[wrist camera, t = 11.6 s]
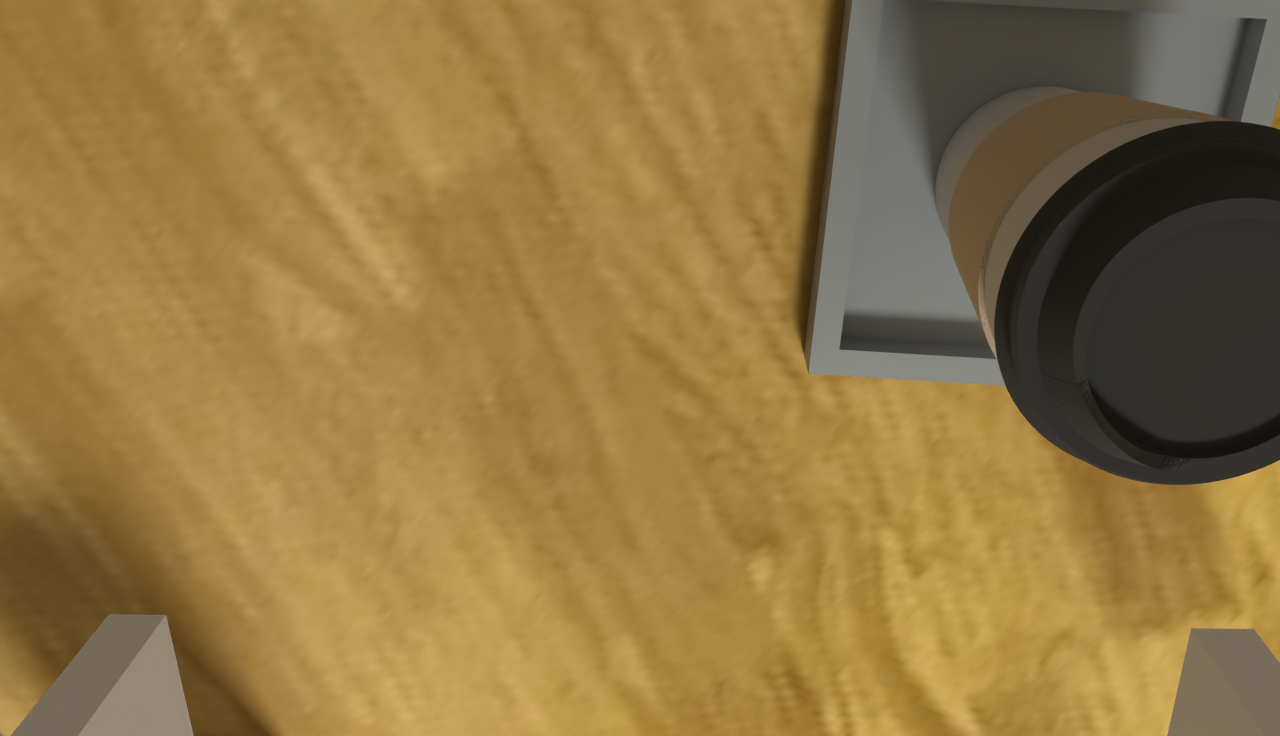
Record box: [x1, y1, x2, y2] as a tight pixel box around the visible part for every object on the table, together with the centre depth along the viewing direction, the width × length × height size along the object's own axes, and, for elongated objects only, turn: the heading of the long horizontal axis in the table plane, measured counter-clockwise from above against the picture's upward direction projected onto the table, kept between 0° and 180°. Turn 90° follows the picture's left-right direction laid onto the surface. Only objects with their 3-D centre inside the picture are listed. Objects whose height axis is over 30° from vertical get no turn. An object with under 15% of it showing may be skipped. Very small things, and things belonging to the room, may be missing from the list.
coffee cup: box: [935, 86, 1280, 485], centre depth 31 cm, size 9×9×15 cm
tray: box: [804, 0, 1280, 386], centre depth 38 cm, size 14×14×2 cm
